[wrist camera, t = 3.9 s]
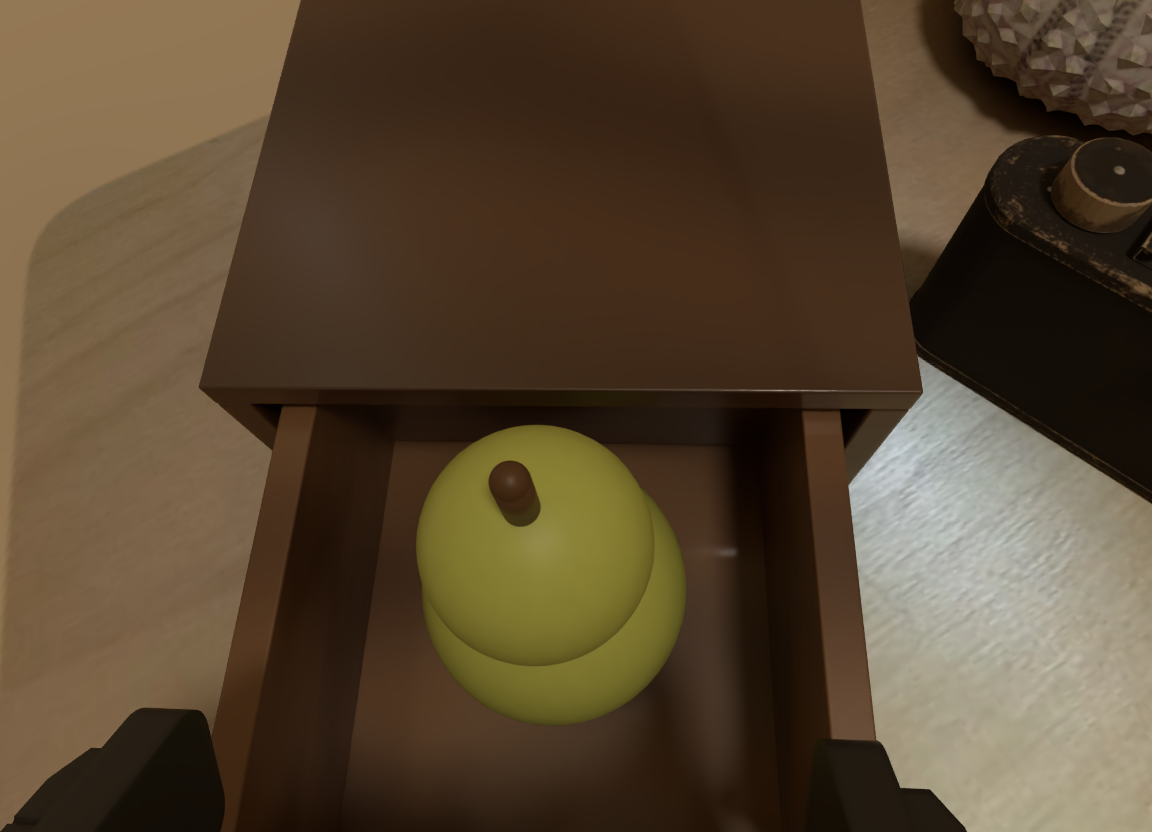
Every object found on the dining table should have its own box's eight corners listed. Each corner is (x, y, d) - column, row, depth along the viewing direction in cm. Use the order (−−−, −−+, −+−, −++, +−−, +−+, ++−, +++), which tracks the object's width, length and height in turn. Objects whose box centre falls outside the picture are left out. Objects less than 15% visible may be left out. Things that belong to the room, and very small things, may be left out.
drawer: (871, 1238, 16) (1029, 1552, 9) (236, 1183, 17) (3, 1435, 10) (801, 435, 23) (866, 315, 17) (360, 430, 24) (266, 315, 18)
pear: (444, 726, 19) (255, 694, 9) (467, 502, 21) (333, 293, 12) (679, 735, 19) (733, 712, 9) (676, 506, 21) (715, 293, 11)
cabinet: (822, 519, 23) (924, 393, 15) (340, 510, 24) (196, 388, 16) (786, 139, 29) (846, -96, 21) (401, 145, 30) (319, -76, 22)
